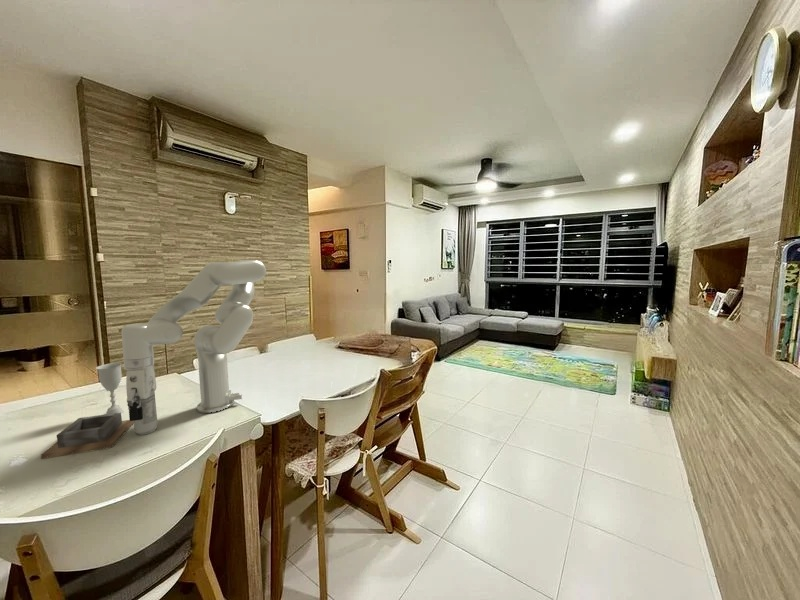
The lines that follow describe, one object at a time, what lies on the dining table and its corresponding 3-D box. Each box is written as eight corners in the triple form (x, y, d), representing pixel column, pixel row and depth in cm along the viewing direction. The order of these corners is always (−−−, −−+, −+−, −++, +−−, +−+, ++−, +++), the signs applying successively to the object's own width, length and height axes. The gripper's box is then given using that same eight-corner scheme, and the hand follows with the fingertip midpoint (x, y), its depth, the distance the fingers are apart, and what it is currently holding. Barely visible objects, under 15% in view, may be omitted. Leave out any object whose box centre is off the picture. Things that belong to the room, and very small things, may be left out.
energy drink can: (150, 424, 109) (146, 382, 107) (162, 428, 107) (158, 385, 105) (130, 433, 103) (125, 389, 102) (142, 437, 101) (137, 392, 100)
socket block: (134, 422, 111) (133, 408, 110) (111, 447, 96) (110, 431, 95) (75, 430, 105) (73, 415, 104) (41, 458, 90) (38, 441, 90)
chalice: (111, 418, 113) (105, 369, 111) (96, 416, 115) (90, 368, 112) (132, 409, 120) (127, 363, 118) (117, 407, 122) (112, 362, 119)
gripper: (142, 369, 95) (146, 423, 97) (162, 354, 112) (165, 401, 113) (111, 371, 93) (115, 427, 95) (136, 356, 109) (139, 404, 111)
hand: (142, 413), depth 104 cm, fingers open, 9 cm apart
